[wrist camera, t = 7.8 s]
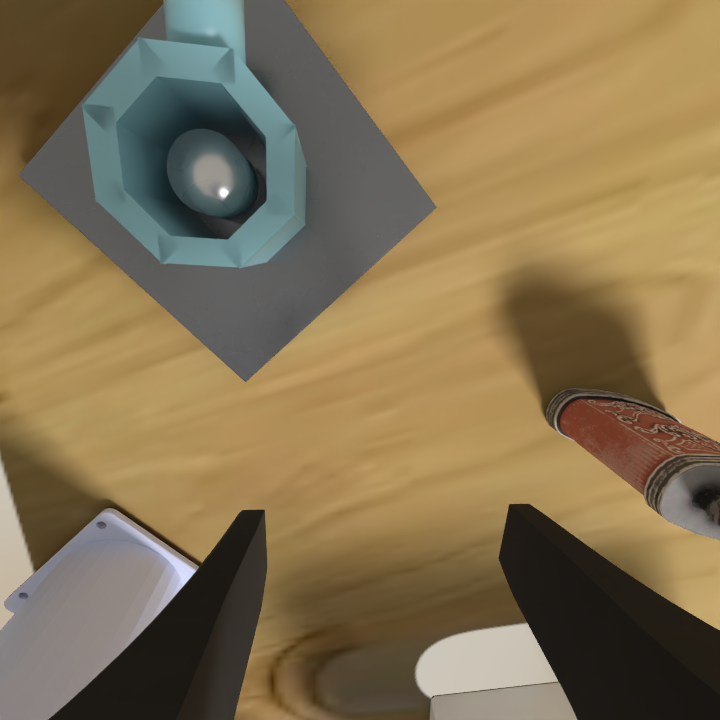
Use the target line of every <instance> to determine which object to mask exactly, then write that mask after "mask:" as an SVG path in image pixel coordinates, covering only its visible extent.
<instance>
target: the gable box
mask: <svg viewBox="0 0 720 720" xmlns="http://www.w3.org/2000/svg"><path fill="white" fill-rule="evenodd" d="M430 720H577V718H576V716H575V713H574V711H573V709H572V707H571V705H570V703H569V701H568V699H567V697H566V695H565V693H564V691H563V689H562V687H561V685H560V683H559V682H550V683H541V684H532V685H524V686H515V687H506V688H497V689H489V690H480V691H472V692H463V693H453V694H444V695H435V696H433V697H432V698H431V705H430Z"/></svg>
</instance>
